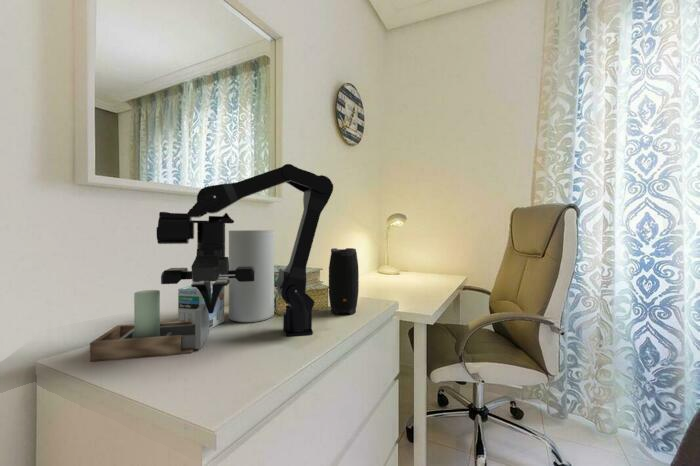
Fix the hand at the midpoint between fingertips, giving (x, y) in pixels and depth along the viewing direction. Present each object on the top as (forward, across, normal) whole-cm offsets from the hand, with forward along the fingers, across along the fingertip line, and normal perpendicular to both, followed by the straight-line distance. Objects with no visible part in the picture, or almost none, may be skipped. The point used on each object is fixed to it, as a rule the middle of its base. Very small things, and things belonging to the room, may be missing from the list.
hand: (211, 313), depth 70 cm
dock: (+7, -12, 0) cm, 13 cm away
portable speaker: (+7, +35, +18) cm, 40 cm away
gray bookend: (+7, -9, 0) cm, 11 cm away
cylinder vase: (+7, +8, +19) cm, 22 cm away
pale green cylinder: (+6, -13, 0) cm, 14 cm away
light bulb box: (+7, -4, +13) cm, 15 cm away
